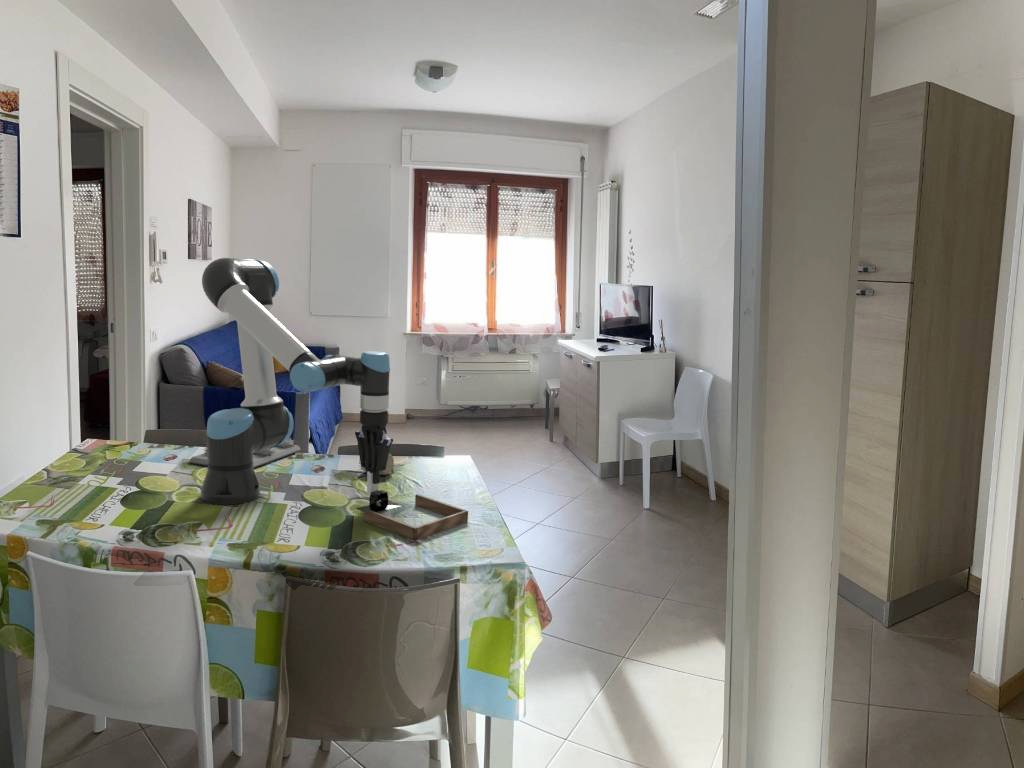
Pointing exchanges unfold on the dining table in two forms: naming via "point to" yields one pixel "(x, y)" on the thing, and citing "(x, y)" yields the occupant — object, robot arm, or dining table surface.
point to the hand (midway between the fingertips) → (372, 494)
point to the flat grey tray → (258, 454)
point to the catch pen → (453, 519)
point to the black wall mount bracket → (380, 505)
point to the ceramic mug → (389, 466)
